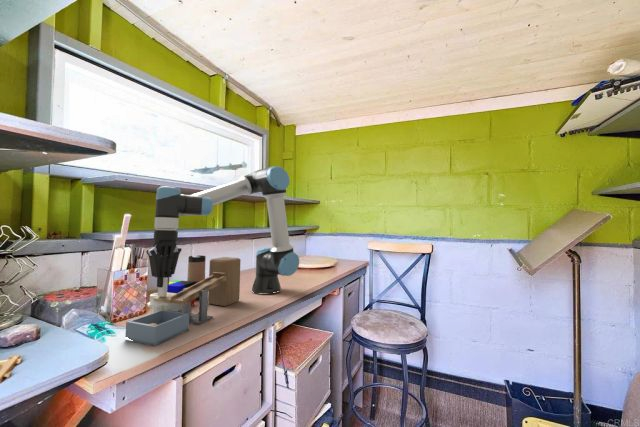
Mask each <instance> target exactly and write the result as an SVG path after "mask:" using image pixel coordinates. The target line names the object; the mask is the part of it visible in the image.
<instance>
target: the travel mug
mask: <svg viewBox="0 0 640 427" xmlns="http://www.w3.org/2000/svg"><path fill="white" fill-rule="evenodd" d="M187 260H188V262H187V263H188V264H187V278H186V279H187V280H186V281H194V282H195V284H196V283H198V282H200V281H202V280H204V279H206V261H207V260H206V255H196V256H192V255H190V256H188V258H187ZM199 297H200V296H199ZM199 297H197V298H196V299H195V301H199Z"/></svg>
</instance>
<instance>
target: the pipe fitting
mask: <svg viewBox="0 0 640 427" xmlns="http://www.w3.org/2000/svg"><path fill="white" fill-rule="evenodd" d="M157 296H158V292H154V293H151V294H150V295H149V302H147V303H146V305H147V306H146V307H148V308H151V310H152V312H151V313H154V312H157V311H160V310H162V306H165V305H168V303H163V302H155V301H154V299H153V298H155V297H157Z"/></svg>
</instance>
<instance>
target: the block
mask: <svg viewBox="0 0 640 427" xmlns="http://www.w3.org/2000/svg"><path fill="white" fill-rule="evenodd" d="M241 261H242V260H241V258H239V257H228V256H222V257H215V258H211V259H210V260H209V274H208V277H210V276H212V275H213V272H220V273H226V281H224V282H223V283H221V284H219V285H218V286H216V287H214V288H213V289H211V290H209V291H208V305H213V306H219V305H220V307H227V306H230V305H232V304H235V303H237V302H239V301H240V293H241V292H240V287H241V286H240V284H241Z"/></svg>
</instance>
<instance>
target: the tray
mask: <svg viewBox="0 0 640 427" xmlns="http://www.w3.org/2000/svg"><path fill="white" fill-rule="evenodd" d="M125 322H126V323H125V337H128V338H129V339H131V340H133V341H134V342H133V343H135V344H141V345H146V346H149V347H156V346H159V345H160V344H162V343H165V342H166V341H167V342H168V340H170V339H173V338H176V337H177V336H180V335H182V334H184V333H187V332H188V331H189V330H190V328H189V327H190V326H189V325H190V323H189V314H188V313H182V311H171V310H160V311H157V312H154V313H152V312H151V313H149V314H145V315H141V316H140V317H136V318H133V319H130V320H127V321H125ZM151 323H156V324H157V325H156V326H155V325H149V324H151Z"/></svg>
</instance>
